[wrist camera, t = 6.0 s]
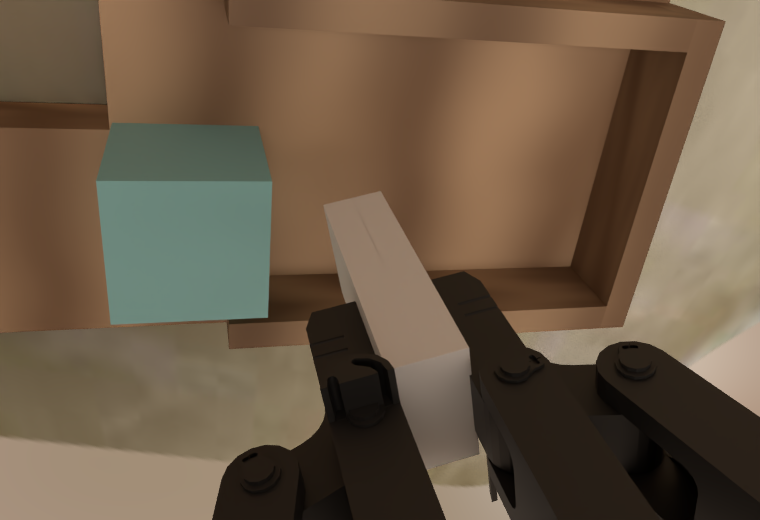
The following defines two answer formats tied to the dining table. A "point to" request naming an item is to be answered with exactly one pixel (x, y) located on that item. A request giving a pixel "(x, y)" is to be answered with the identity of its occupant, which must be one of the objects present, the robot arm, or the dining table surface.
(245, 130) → the teal block
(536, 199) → the tray
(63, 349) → the dining table surface
